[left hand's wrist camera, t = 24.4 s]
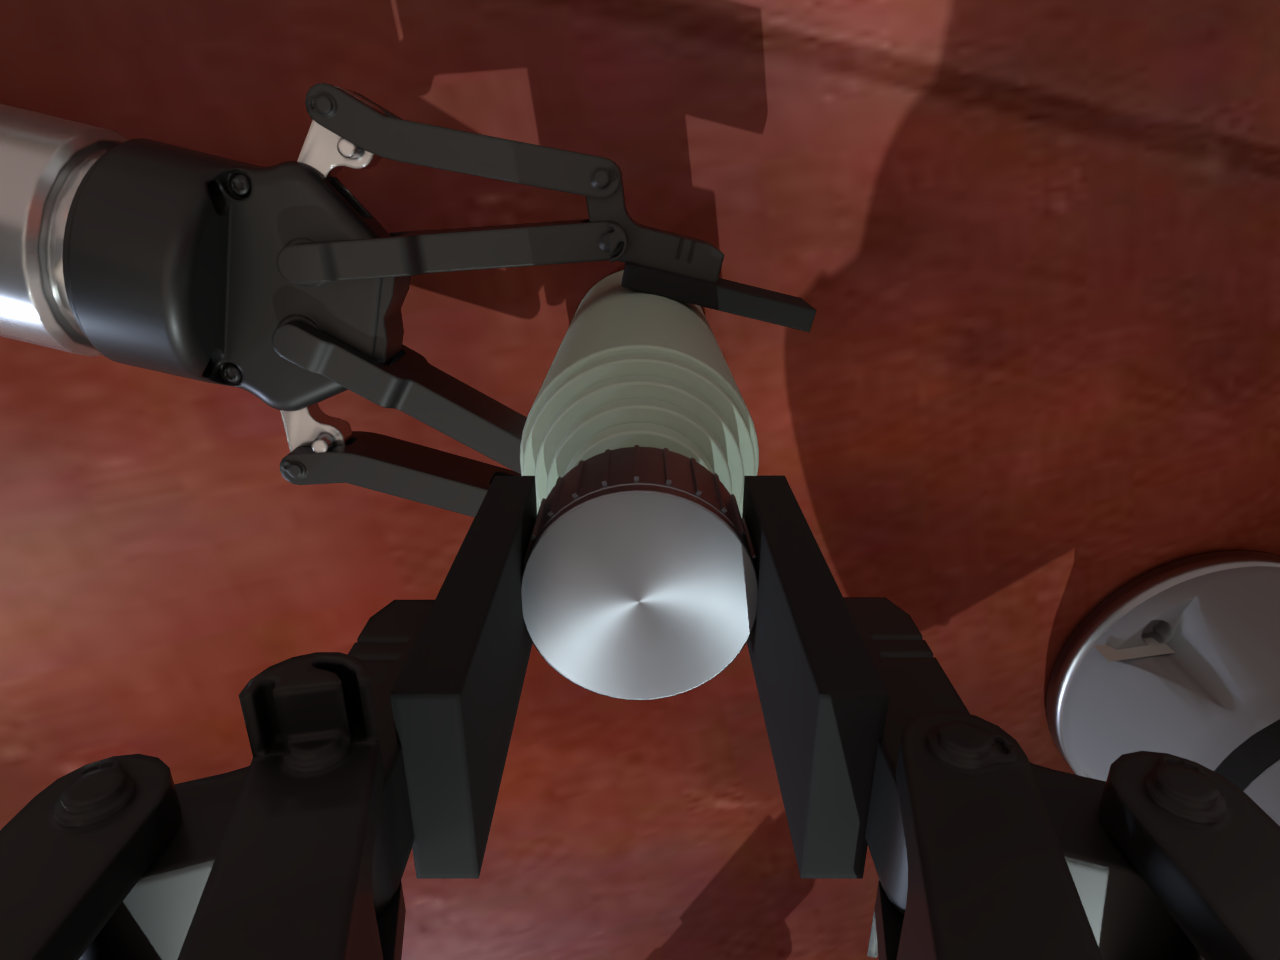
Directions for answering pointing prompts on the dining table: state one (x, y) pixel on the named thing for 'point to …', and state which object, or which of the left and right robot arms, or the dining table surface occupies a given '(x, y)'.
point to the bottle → (638, 391)
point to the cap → (639, 575)
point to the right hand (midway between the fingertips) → (776, 402)
